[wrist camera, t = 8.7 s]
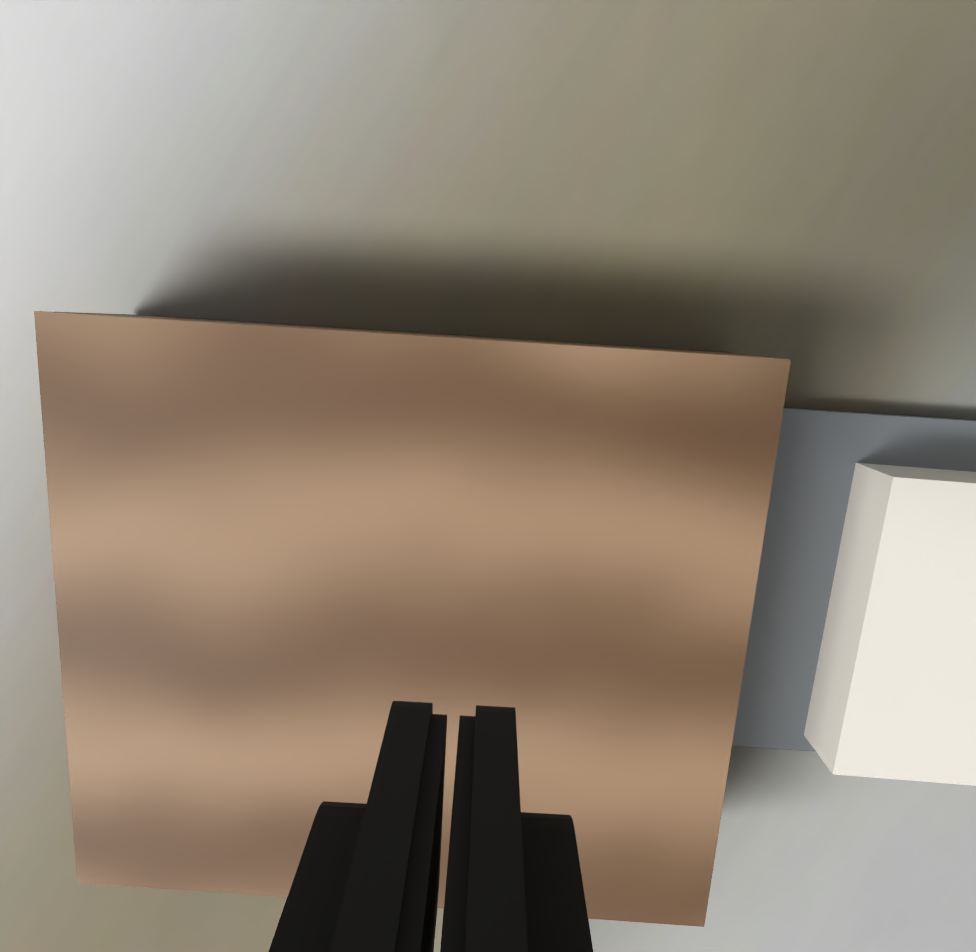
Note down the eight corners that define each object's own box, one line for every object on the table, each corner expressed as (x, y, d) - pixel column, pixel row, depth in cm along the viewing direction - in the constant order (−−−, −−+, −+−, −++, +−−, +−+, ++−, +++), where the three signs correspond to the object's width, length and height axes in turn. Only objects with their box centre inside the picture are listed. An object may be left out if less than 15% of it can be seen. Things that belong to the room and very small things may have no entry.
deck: (124, 314, 20) (34, 310, 16) (735, 353, 20) (790, 359, 16) (147, 791, 24) (77, 882, 20) (670, 827, 24) (703, 926, 20)
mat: (734, 404, 20) (739, 406, 20) (1099, 428, 20) (1111, 430, 20) (689, 735, 23) (692, 742, 22) (1016, 758, 23) (1025, 765, 22)
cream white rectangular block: (1118, 494, 18) (1059, 478, 20) (893, 477, 18) (855, 462, 20) (1036, 790, 20) (989, 749, 22) (832, 774, 20) (804, 735, 22)
